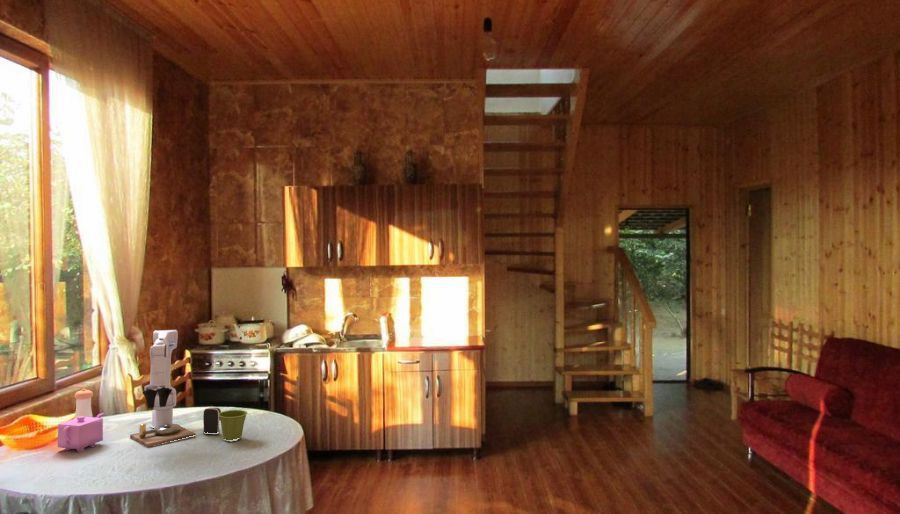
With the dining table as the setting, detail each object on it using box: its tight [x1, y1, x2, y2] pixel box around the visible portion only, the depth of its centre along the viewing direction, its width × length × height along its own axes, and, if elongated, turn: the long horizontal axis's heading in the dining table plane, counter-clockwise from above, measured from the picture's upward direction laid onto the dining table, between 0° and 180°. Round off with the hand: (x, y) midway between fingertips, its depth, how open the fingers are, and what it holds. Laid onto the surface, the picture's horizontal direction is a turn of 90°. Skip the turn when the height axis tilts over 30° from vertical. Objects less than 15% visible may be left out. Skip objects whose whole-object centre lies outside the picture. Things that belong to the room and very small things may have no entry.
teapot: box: [57, 412, 104, 453], centre depth 241 cm, size 20×10×12 cm, turn 168°
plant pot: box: [218, 409, 248, 440], centre depth 252 cm, size 12×12×11 cm
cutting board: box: [129, 426, 197, 448], centre depth 254 cm, size 18×20×2 cm
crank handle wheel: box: [138, 423, 180, 437], centre depth 254 cm, size 16×10×5 cm, turn 138°
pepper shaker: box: [74, 388, 94, 419], centre depth 260 cm, size 7×7×19 cm
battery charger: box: [202, 407, 222, 433], centre depth 260 cm, size 7×4×11 cm, turn 81°
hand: (156, 407), depth 242 cm, fingers open, 7 cm apart
